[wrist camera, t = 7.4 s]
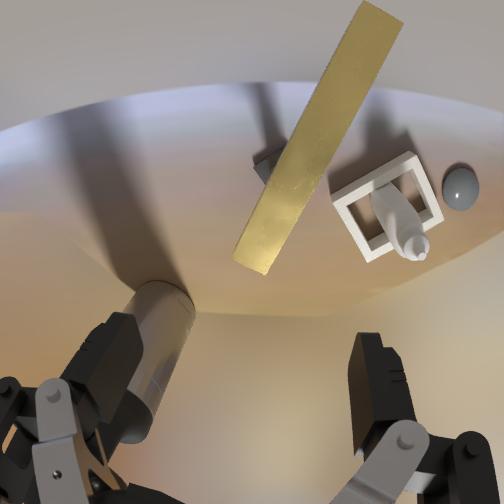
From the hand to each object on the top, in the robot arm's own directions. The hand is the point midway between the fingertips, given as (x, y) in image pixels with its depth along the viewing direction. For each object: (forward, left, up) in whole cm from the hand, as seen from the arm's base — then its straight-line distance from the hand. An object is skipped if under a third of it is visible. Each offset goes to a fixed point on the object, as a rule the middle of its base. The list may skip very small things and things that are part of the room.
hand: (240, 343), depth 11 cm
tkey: (+5, +3, -23) cm, 24 cm away
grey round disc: (+17, -12, -25) cm, 32 cm away
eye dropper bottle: (+8, -9, -25) cm, 28 cm away
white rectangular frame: (+8, -9, -25) cm, 28 cm away
